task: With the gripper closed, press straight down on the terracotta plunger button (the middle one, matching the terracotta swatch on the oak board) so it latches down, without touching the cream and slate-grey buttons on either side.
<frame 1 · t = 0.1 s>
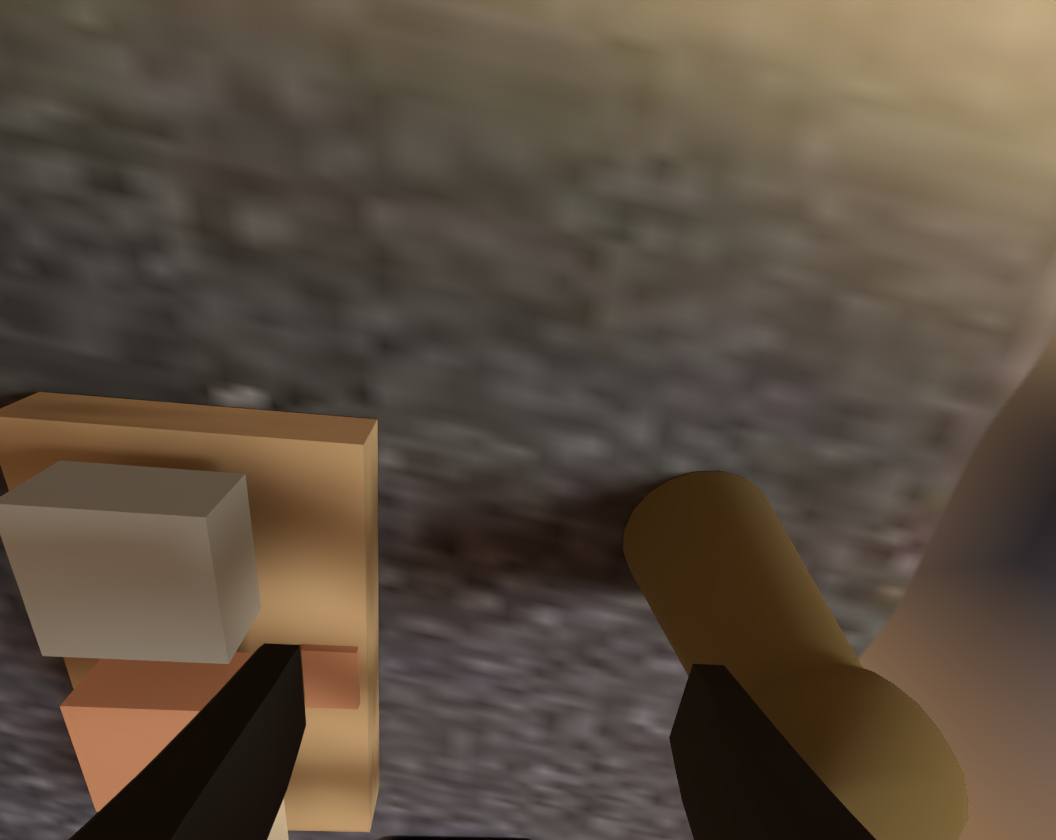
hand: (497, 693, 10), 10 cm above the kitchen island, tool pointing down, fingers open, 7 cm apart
button terracotta: (182, 731, 18), point 5 cm above the kitchen island, slide at 0.0 cm
button board: (243, 629, 22), on the kitchen island
butternut squash: (696, 534, 21), on the kitchen island
button slate: (145, 563, 15), point 5 cm above the kitchen island, slide at 0.0 cm
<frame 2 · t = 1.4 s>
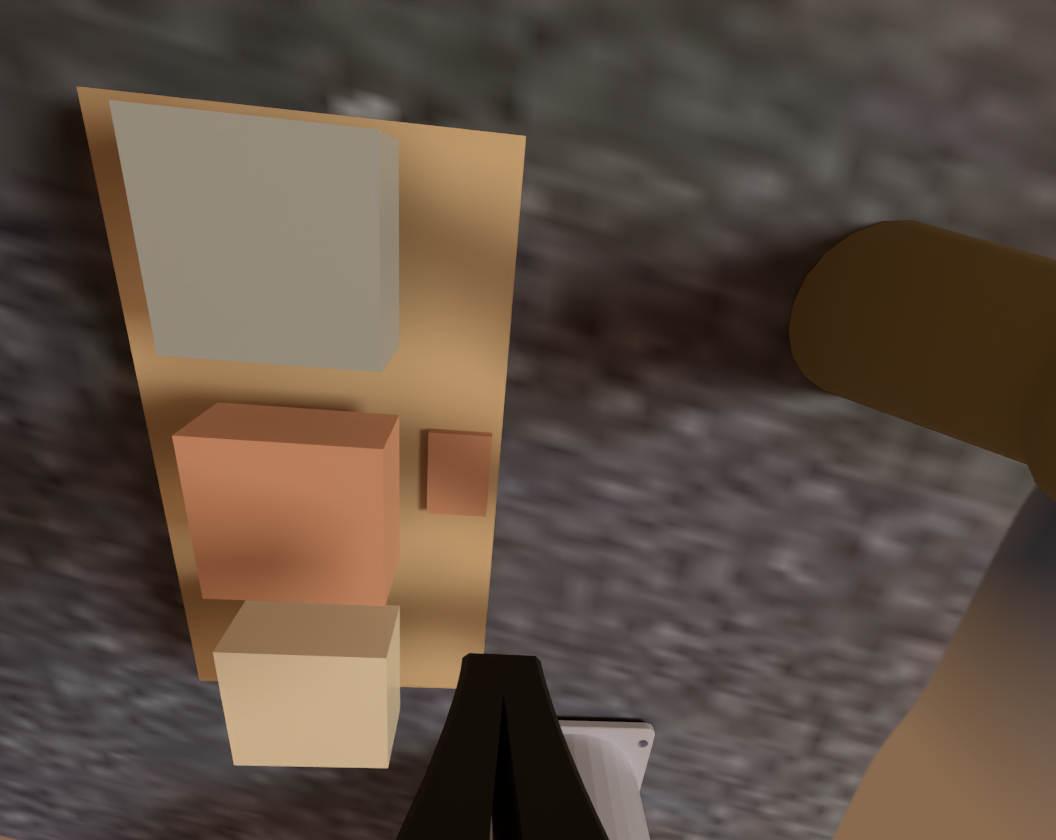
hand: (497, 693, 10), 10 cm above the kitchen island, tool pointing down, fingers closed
button terracotta: (302, 505, 15), point 5 cm above the kitchen island, slide at 0.0 cm
button board: (346, 437, 19), on the kitchen island
butternut squash: (872, 312, 18), on the kitchen island
button slate: (280, 245, 12), point 5 cm above the kitchen island, slide at 0.0 cm
button cream: (317, 684, 18), point 5 cm above the kitchen island, slide at 0.0 cm
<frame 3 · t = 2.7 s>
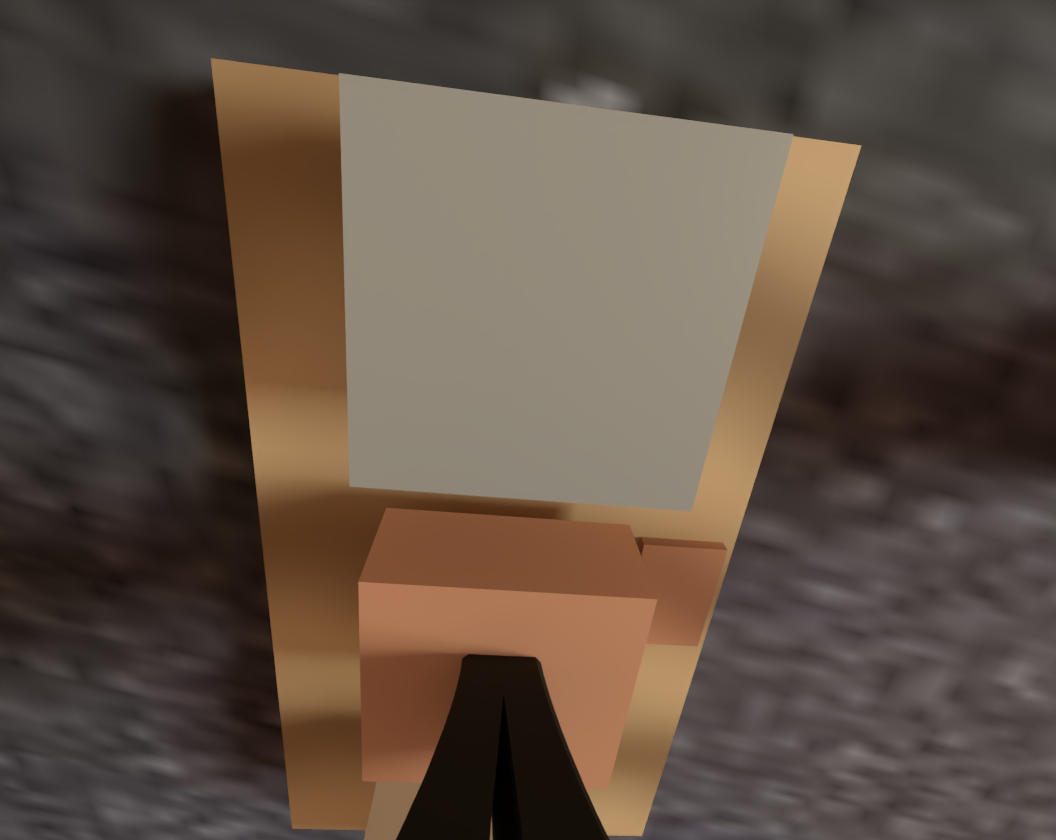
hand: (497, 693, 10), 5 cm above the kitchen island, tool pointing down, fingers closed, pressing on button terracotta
button terracotta: (498, 650, 11), point 4 cm above the kitchen island, slide at -0.4 cm, touching gripper
button board: (500, 530, 15), on the kitchen island
button slate: (540, 312, 8), point 4 cm above the kitchen island, slide at 0.0 cm
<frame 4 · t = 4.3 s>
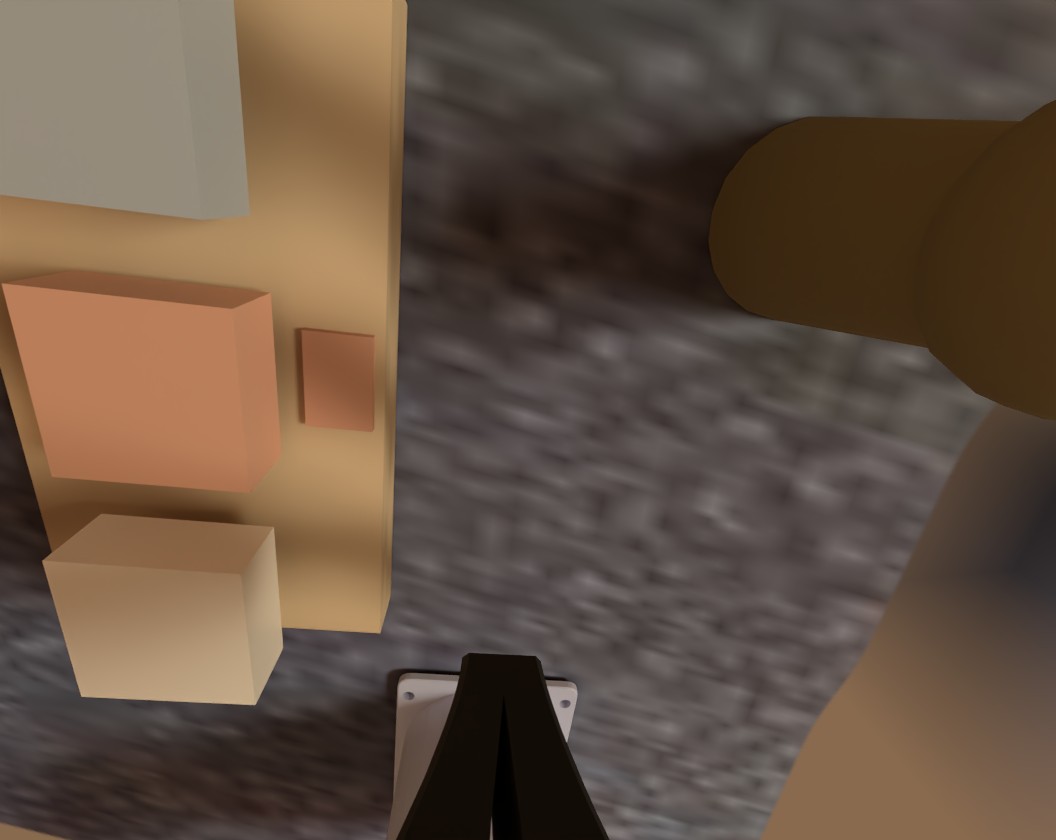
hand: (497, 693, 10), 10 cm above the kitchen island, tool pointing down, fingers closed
button terracotta: (163, 383, 14), point 4 cm above the kitchen island, slide at -0.9 cm
button board: (228, 347, 17), on the kitchen island
butternut squash: (800, 224, 17), on the kitchen island
button slate: (85, 68, 10), point 4 cm above the kitchen island, slide at 0.0 cm
button cream: (179, 610, 16), point 4 cm above the kitchen island, slide at 0.0 cm
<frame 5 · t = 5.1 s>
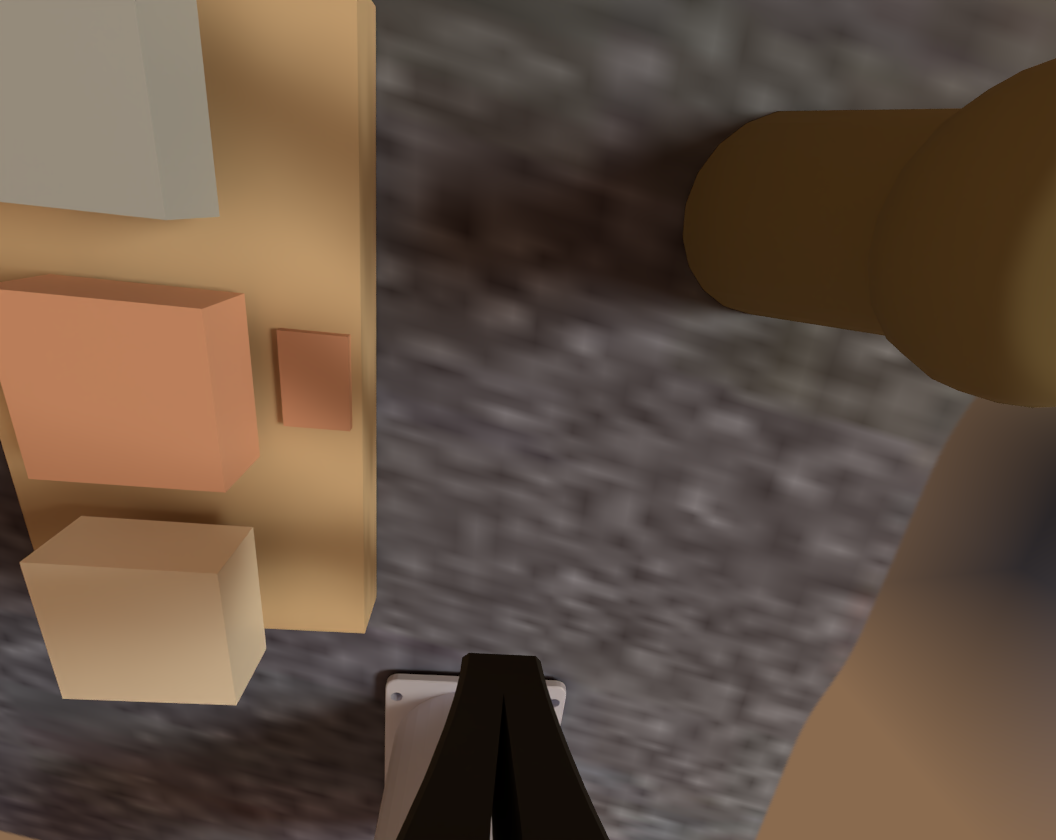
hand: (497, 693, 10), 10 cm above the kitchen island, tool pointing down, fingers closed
button terracotta: (138, 384, 14), point 4 cm above the kitchen island, slide at -0.9 cm
button board: (207, 349, 17), on the kitchen island
butternut squash: (774, 219, 17), on the kitchen island
button slate: (49, 72, 11), point 4 cm above the kitchen island, slide at 0.0 cm
button cream: (159, 611, 16), point 5 cm above the kitchen island, slide at 0.0 cm
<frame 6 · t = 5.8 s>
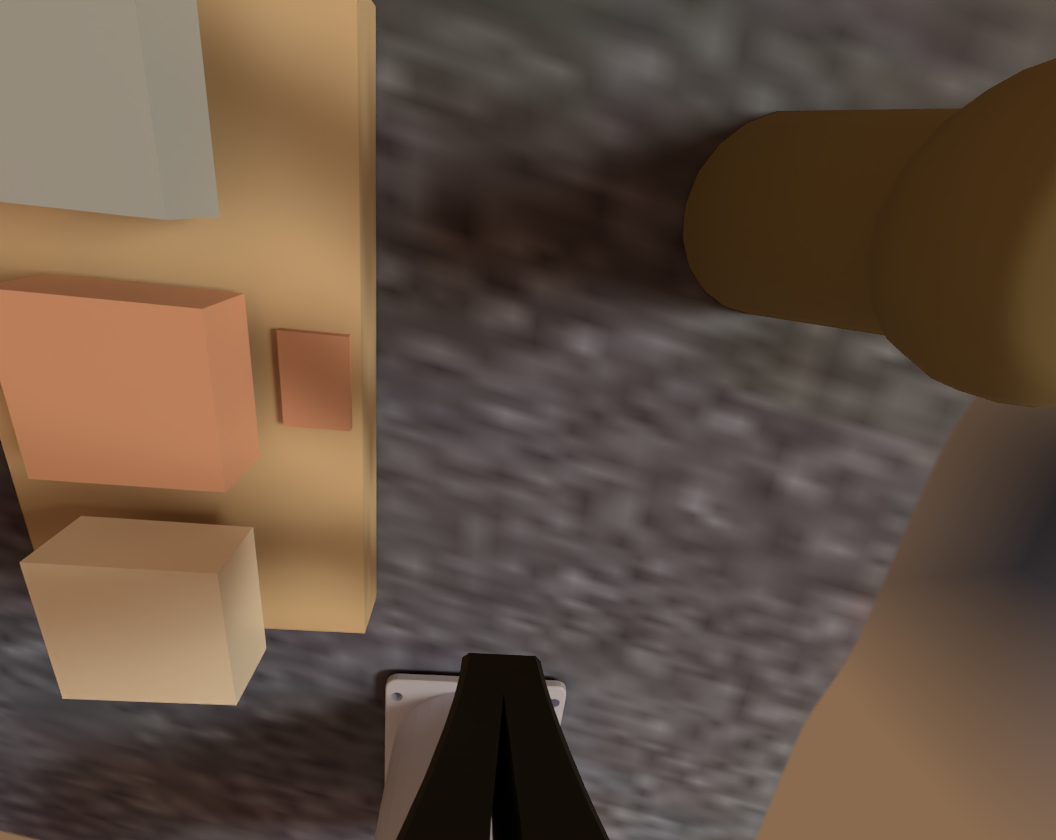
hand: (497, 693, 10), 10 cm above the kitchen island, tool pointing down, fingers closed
button terracotta: (138, 384, 14), point 4 cm above the kitchen island, slide at -0.9 cm
button board: (207, 349, 17), on the kitchen island
butternut squash: (774, 219, 17), on the kitchen island
button slate: (49, 72, 11), point 5 cm above the kitchen island, slide at 0.0 cm
button cream: (159, 611, 16), point 5 cm above the kitchen island, slide at 0.0 cm
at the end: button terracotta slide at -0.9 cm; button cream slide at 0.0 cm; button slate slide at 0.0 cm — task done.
